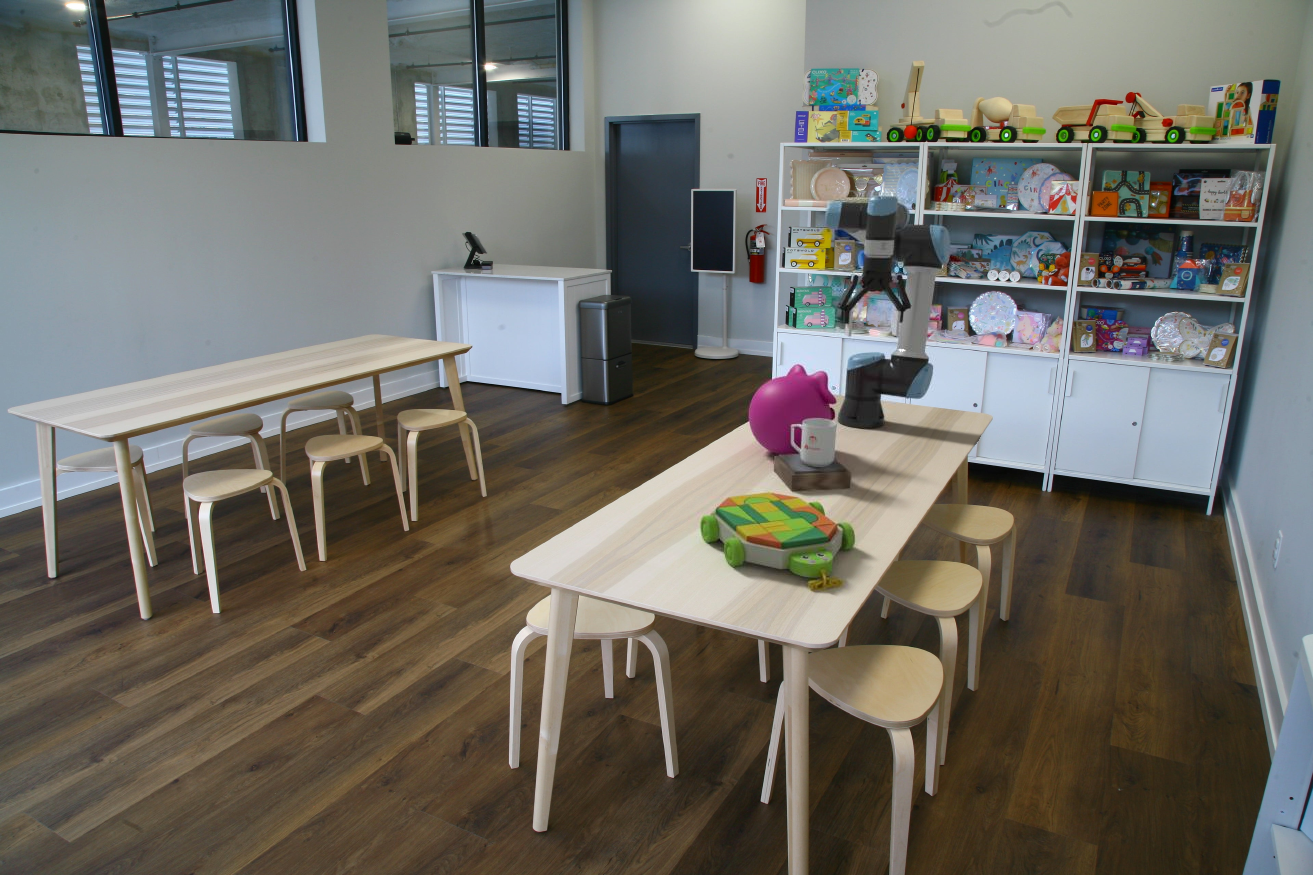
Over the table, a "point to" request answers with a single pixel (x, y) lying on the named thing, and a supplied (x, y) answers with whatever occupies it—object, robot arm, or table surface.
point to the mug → (816, 441)
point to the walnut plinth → (810, 474)
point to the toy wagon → (779, 535)
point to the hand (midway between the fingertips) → (871, 335)
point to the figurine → (789, 408)
